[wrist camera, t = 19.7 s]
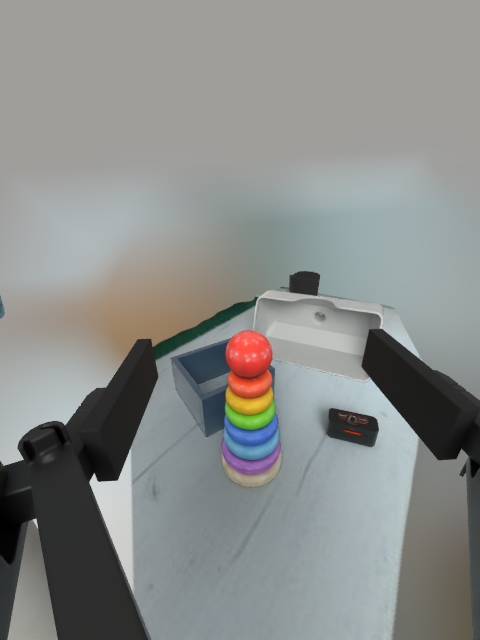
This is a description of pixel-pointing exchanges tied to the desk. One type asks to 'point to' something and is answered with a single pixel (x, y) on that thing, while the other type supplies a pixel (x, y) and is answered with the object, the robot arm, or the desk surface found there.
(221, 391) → the square holder
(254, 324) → the light grey open box
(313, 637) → the desk surface
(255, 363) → the stacking toy
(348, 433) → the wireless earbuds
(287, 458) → the desk surface
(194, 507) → the desk surface
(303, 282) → the pen holder
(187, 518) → the desk surface
